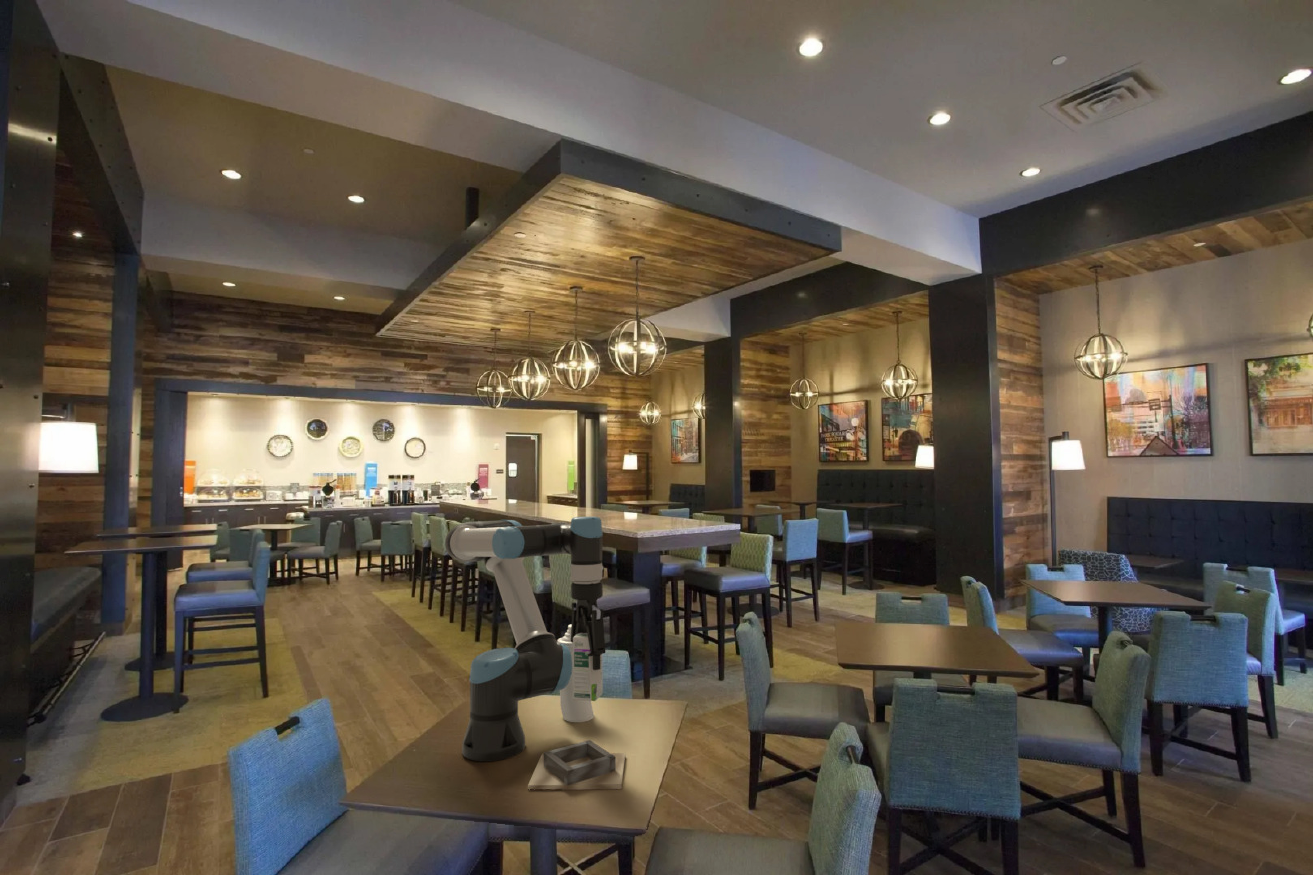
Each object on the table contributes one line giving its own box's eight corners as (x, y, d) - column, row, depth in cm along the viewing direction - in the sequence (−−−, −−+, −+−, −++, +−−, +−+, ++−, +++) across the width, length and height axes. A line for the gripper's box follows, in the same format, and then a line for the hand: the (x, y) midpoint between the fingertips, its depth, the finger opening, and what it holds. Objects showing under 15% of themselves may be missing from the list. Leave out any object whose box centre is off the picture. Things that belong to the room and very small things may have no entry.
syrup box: (572, 700, 148) (571, 636, 150) (581, 692, 154) (580, 631, 155) (595, 701, 147) (594, 637, 148) (603, 693, 153) (602, 632, 154)
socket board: (527, 790, 136) (527, 771, 136) (542, 757, 152) (541, 740, 153) (621, 789, 136) (620, 770, 136) (625, 756, 152) (625, 739, 153)
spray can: (549, 721, 176) (549, 629, 179) (560, 708, 187) (559, 621, 189) (590, 722, 175) (589, 630, 177) (598, 709, 185) (598, 622, 187)
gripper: (619, 585, 146) (621, 687, 144) (584, 575, 164) (585, 666, 162) (589, 588, 142) (590, 693, 140) (556, 577, 160) (557, 670, 158)
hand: (587, 678), depth 151 cm, fingers closed on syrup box, 8 cm apart
